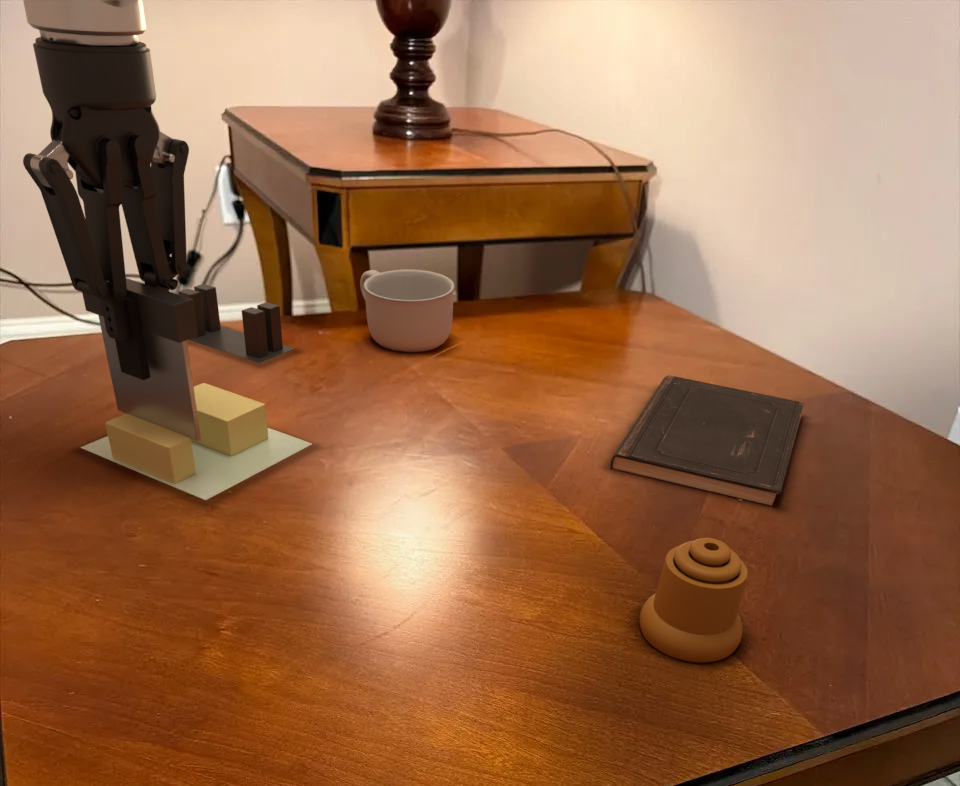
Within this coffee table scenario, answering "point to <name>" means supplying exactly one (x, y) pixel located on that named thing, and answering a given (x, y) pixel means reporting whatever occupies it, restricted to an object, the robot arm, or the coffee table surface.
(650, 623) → the ornamental finial
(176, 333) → the dough scraper
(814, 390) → the coffee table surface
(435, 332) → the teacup
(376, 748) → the coffee table surface
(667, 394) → the hardcover book
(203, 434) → the butter block
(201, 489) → the butter dish
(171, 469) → the butter pat
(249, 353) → the stand
